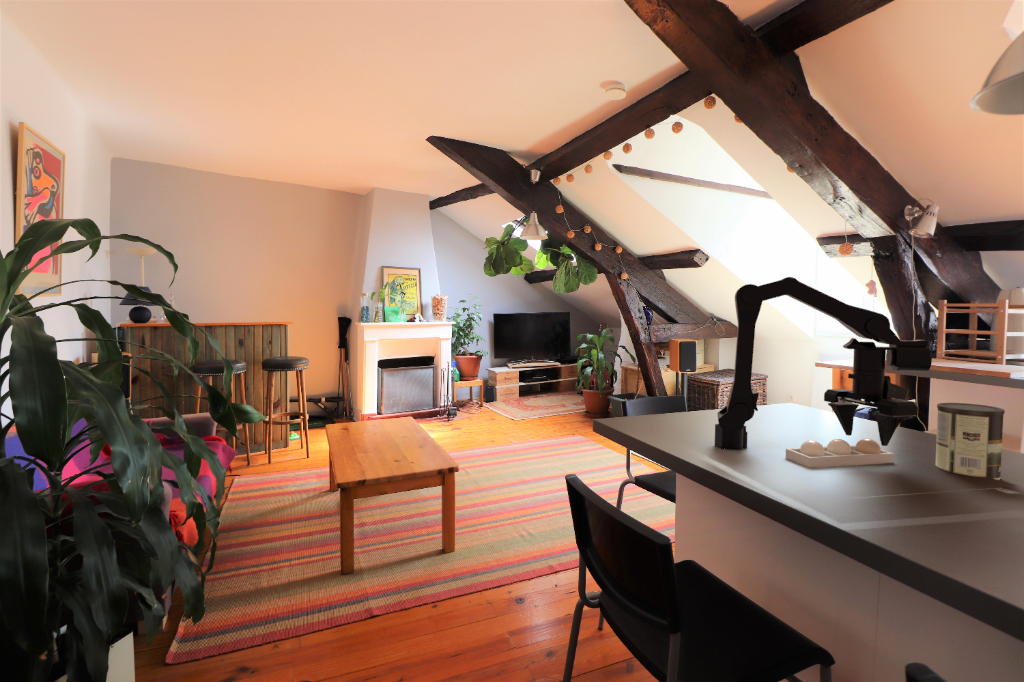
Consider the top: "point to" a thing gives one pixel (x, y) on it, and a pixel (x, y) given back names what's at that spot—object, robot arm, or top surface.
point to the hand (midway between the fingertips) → (865, 440)
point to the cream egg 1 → (812, 449)
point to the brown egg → (868, 446)
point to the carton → (839, 458)
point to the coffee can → (969, 439)
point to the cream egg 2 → (839, 447)
